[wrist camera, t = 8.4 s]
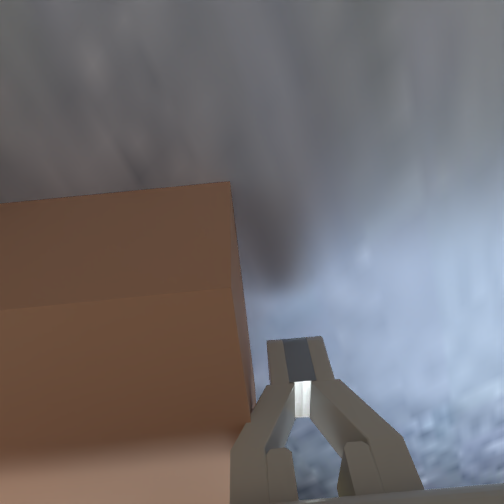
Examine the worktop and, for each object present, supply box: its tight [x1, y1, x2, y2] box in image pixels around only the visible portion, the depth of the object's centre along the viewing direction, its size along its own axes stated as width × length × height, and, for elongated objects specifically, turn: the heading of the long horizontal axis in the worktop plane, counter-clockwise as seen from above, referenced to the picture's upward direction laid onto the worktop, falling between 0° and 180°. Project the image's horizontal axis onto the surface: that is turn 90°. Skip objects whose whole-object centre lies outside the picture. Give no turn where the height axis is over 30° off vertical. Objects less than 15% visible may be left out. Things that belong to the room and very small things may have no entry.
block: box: [0, 181, 256, 504], centre depth 11 cm, size 9×10×5 cm
